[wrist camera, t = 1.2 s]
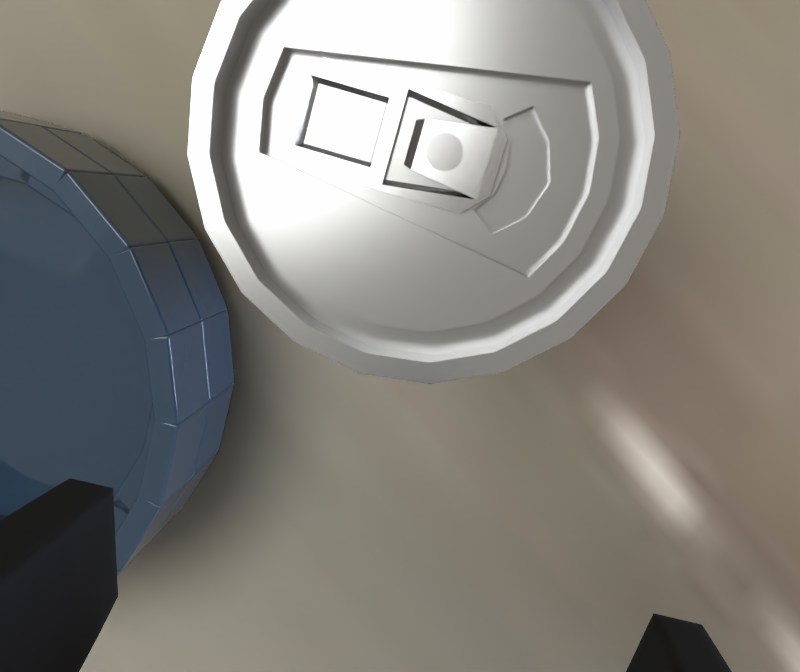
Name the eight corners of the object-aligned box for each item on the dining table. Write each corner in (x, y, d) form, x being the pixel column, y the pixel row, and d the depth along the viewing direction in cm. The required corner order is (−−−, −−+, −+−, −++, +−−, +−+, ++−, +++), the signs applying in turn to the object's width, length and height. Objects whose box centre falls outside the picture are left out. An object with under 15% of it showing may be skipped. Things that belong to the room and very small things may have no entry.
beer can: (333, 249, 19) (119, 320, 8) (386, 50, 18) (231, -223, 7) (520, 305, 19) (595, 468, 7) (586, 107, 18) (795, -68, 6)
